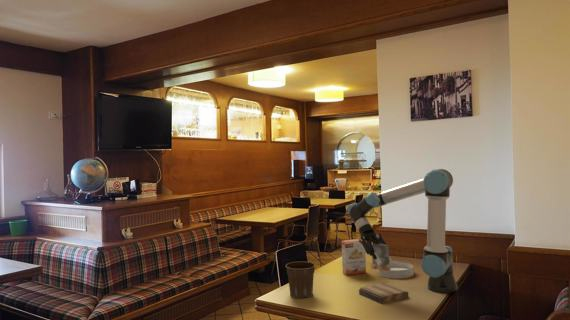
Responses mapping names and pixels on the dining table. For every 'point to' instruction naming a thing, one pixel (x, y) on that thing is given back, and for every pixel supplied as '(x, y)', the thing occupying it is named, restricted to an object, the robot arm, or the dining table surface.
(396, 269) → the dish
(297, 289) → the plant pot
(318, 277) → the dining table surface
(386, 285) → the block
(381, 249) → the grey upright cylinder
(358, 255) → the cracker box
